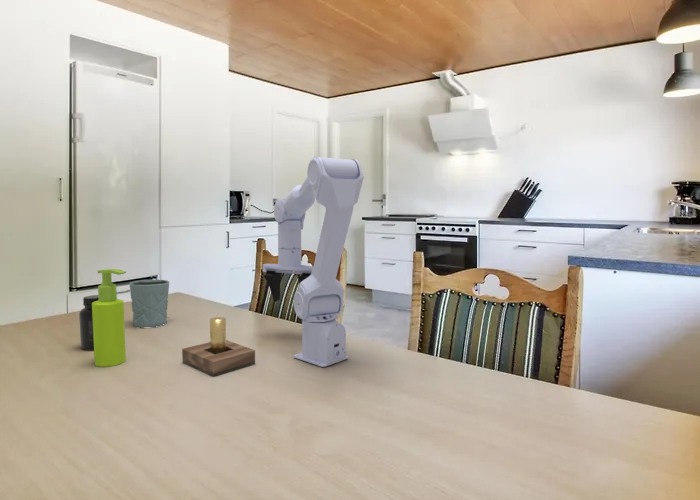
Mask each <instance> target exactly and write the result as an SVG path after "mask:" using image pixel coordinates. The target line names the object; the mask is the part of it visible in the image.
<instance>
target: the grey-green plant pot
mask: <svg viewBox="0 0 700 500" xmlns="http://www.w3.org/2000/svg"><path fill="white" fill-rule="evenodd" d="M169 288H170V281H169V280H166V279H141V280H135V281H131V282H129V291H130V292H129V293H130V299H131V309H132V310H131V311H132V322H133V327H134V326H136V327H135V328H137V327H153V328H157V327H156V326H159V327H161V326H160V325H162V326H164V325H163V324H165V323H166V324H167V322H168V321H167V320H168V312H167V311H168V304H169V300H168V298H169V291H170V290H169ZM166 324H165V325H166Z"/></svg>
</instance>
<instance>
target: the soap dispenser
mask: <svg viewBox="0 0 700 500" xmlns="http://www.w3.org/2000/svg"><path fill="white" fill-rule="evenodd" d="M126 273H127V271H125V270H123V269H118V268H104V269H100V270H97V274H101V276H102V283H100V284H99V285H98V286H97V289H98V290H97V293H98V294H97V295H98V296H99V300H98V301H95V302H93V303H92V316H93V337H94V350H93V353H94V356H93V360H94V365H95V366H96V367H98V368H99V367H101V368H104V367H105V368H106V367H113V366H118V365H121V364H123V363H125V362H126V360H127V359H126V358H127V357H126V355H127V354H126V334H125V330H126V329H125V308H124V307H125V306H124V305H125V304H124V303H125V302H124V300H123V299H119V298H117V297H118V295H117V284H115V283H114V282H112V274H115V275H117V276H119V275H124V274H126Z"/></svg>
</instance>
